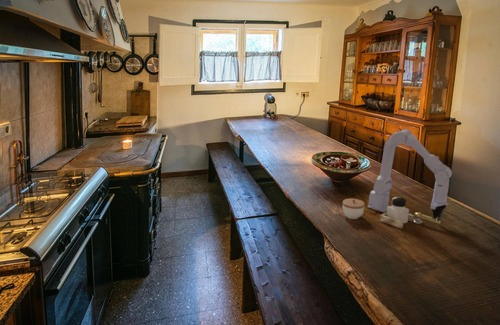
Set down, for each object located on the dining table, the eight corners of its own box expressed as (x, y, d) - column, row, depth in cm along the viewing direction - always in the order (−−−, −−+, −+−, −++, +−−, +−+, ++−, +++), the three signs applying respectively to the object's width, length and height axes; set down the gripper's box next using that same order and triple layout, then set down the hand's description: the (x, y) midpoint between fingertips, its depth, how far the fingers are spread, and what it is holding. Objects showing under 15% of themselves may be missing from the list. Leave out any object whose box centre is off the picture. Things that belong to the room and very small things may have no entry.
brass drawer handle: (413, 216, 169) (414, 211, 168) (416, 214, 170) (416, 209, 170) (438, 224, 160) (439, 218, 159) (441, 222, 162) (442, 216, 161)
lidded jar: (337, 216, 175) (338, 199, 173) (348, 210, 183) (349, 193, 180) (356, 223, 168) (358, 205, 166) (367, 216, 175) (369, 199, 173)
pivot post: (410, 221, 169) (411, 217, 169) (414, 219, 172) (415, 214, 171) (419, 224, 166) (420, 220, 166) (423, 221, 169) (424, 217, 168)
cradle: (379, 220, 170) (380, 215, 170) (391, 214, 178) (392, 208, 177) (401, 228, 162) (402, 222, 162) (413, 220, 170) (413, 215, 169)
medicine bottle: (407, 222, 168) (410, 199, 165) (396, 225, 166) (399, 202, 162) (396, 216, 175) (399, 194, 171) (385, 219, 172) (388, 196, 169)
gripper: (443, 198, 155) (439, 226, 159) (455, 190, 164) (450, 217, 168) (427, 194, 160) (423, 221, 164) (439, 187, 169) (435, 212, 173)
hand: (436, 218), depth 166 cm, fingers closed
